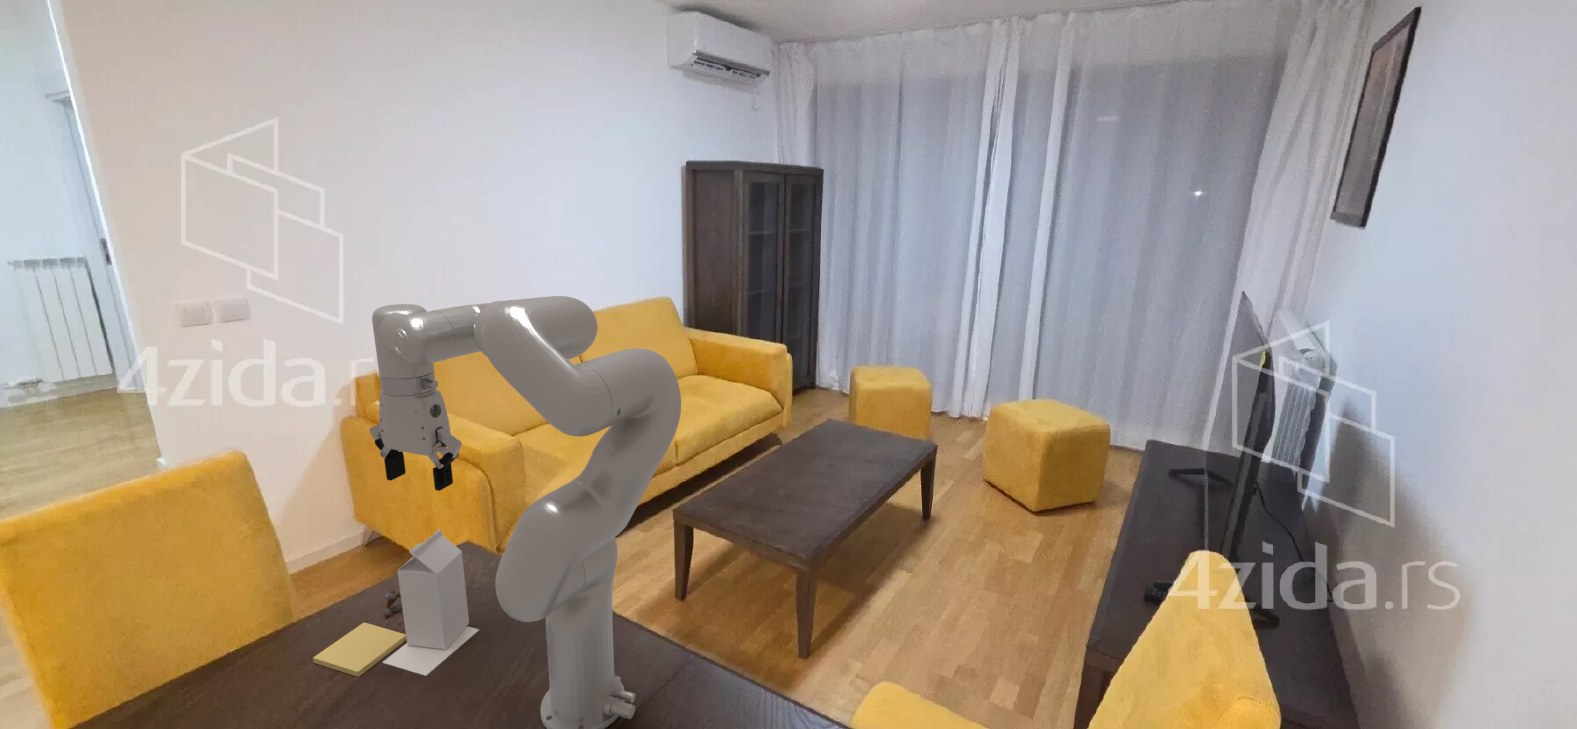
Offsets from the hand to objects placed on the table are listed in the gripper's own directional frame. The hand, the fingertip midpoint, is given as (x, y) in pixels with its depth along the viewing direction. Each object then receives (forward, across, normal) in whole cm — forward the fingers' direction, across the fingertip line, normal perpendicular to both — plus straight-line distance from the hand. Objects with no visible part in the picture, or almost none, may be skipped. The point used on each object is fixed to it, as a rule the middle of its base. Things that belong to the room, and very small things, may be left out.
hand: (420, 482), depth 107 cm
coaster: (+30, +9, +8) cm, 32 cm away
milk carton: (+30, 0, 0) cm, 30 cm away
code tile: (+30, -1, +2) cm, 30 cm away
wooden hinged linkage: (+30, +12, -5) cm, 33 cm away
